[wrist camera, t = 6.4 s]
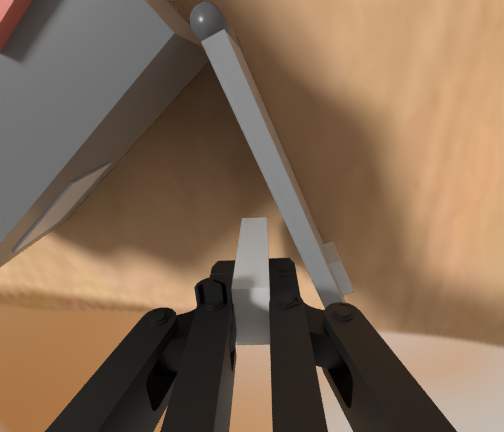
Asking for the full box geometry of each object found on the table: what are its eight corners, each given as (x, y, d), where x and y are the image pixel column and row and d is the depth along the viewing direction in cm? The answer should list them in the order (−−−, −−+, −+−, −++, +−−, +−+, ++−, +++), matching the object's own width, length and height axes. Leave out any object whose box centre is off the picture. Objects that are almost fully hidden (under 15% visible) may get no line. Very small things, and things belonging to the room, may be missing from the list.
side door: (216, 39, 16) (183, 12, 9) (243, 24, 16) (228, -14, 9) (315, 259, 21) (337, 341, 14) (337, 251, 20) (370, 330, 14)
